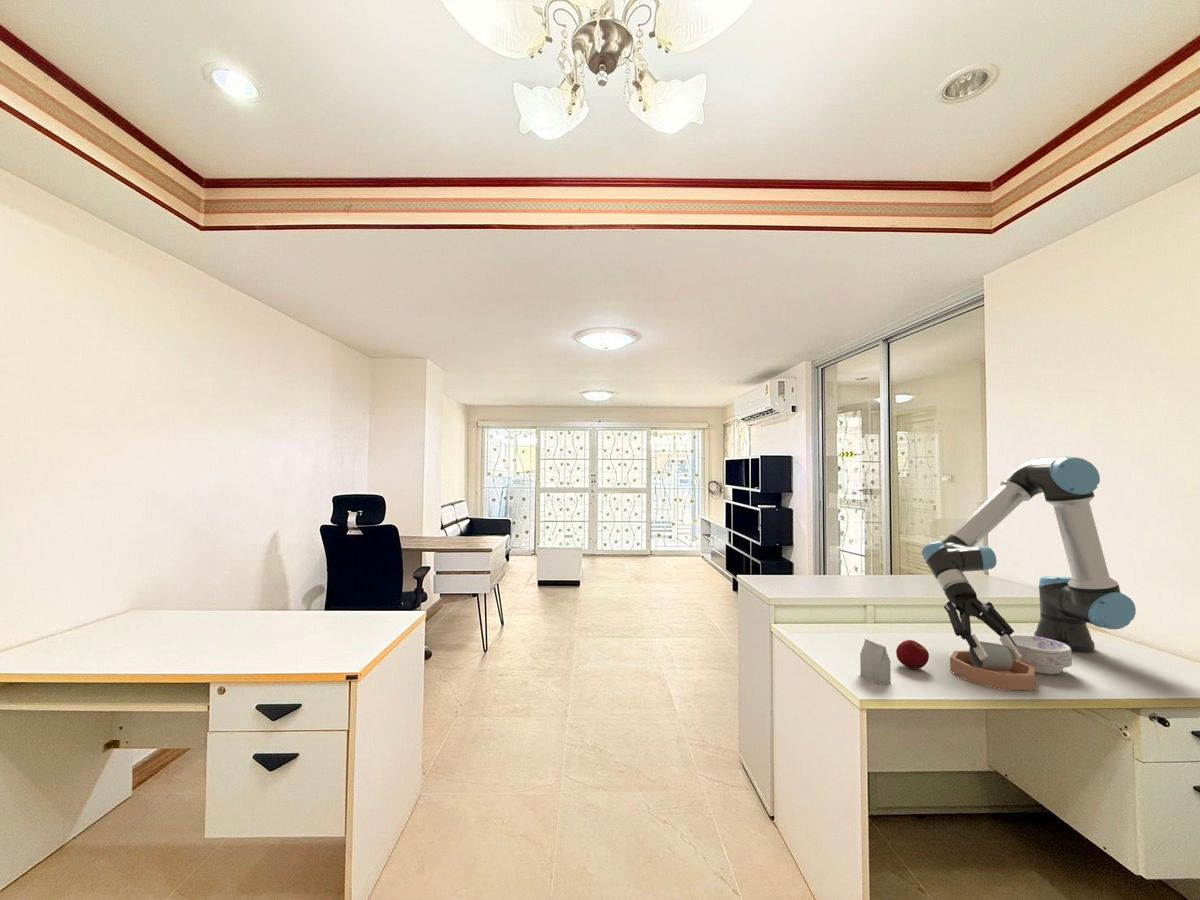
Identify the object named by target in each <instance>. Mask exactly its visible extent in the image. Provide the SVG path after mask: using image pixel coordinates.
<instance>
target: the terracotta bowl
mask: <svg viewBox="0 0 1200 900" xmlns="http://www.w3.org/2000/svg"><path fill="white" fill-rule="evenodd" d="M949 670H950V672H951V671H952V672H951V673H953V672H954V673H953V674H955V673H956V674H955V675H957V676H959V677H960V676H961V677H960V678H962V677H963V678H962V679H964V678H965V680H966V679H967V680H966V681H968V680H969V681H968V682H970V683H973V682H974V684H977V683H979V684H978V685H981V684H982V685H983V686H985V685H987V686H986V687H989V686H991V687H990V688H993V687H995V689H998V688H1000V689H999V690H1002V689H1005V690H1004V691H1006V690H1034V691H1035V688H1036V687H1035V686H1036V672H1035V667H1032V666H1030V665H1028V664H1025V663H1023V662H1021V661H1018V660H1016V661H1014V666H1013V668H1012V669H1011V670H1010V671H993V670H986V669H982V668H977V667H974V665H973V664H972V662H971V659H970V653H969V650H953V652H952V653H951V655H950V657H949ZM1034 687H1035V688H1034Z"/></svg>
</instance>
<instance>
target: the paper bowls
mask: <svg viewBox="0 0 1200 900" xmlns="http://www.w3.org/2000/svg"><path fill="white" fill-rule="evenodd" d="M1010 637H1011V638H1012V640H1013V641H1014V643H1015V645H1016V646H1015V647H1016V649H1017V650H1018V652H1019V653H1020V655H1021V656H1022V657H1020V658H1019V659H1018V661H1021V662H1023V663H1025V664H1028V665H1030V666H1032V667H1035V674H1036V673H1037V674H1043V675H1057V674H1061V673H1062V672H1063V670H1064V668H1069V667H1071V666H1072V665H1073V656H1072V655H1073V654H1072V651H1071V648H1070V647H1069V646H1068V645H1066V644H1064V643H1061V642H1058V641H1055V640H1051V639H1047V638H1042V637H1036V636H1034V635H1027V634H1011V635H1010Z"/></svg>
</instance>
